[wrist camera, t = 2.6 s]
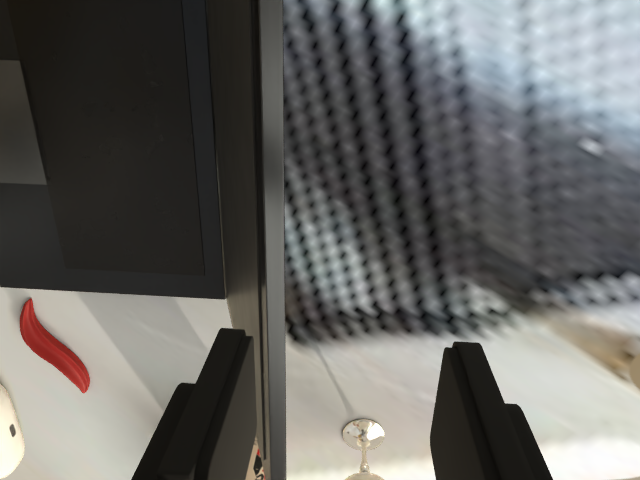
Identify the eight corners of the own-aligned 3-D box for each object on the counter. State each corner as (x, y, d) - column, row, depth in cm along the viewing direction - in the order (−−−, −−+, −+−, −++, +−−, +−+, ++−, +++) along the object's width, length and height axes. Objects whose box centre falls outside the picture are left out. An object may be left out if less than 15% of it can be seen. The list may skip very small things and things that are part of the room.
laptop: (12, 278, 45) (-1, 288, 44) (-92, -101, 33) (-116, -108, 31) (230, 289, 44) (225, 300, 43) (206, -97, 32) (198, -103, 30)
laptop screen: (269, 508, 24) (286, 504, 25) (247, -291, 12) (281, -284, 12) (225, 299, 43) (235, 298, 43) (198, -103, 30) (212, -102, 31)
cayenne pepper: (10, 300, 46) (-4, 311, 45) (53, 295, 46) (41, 305, 44) (57, 395, 51) (46, 408, 49) (96, 391, 51) (87, 404, 49)
